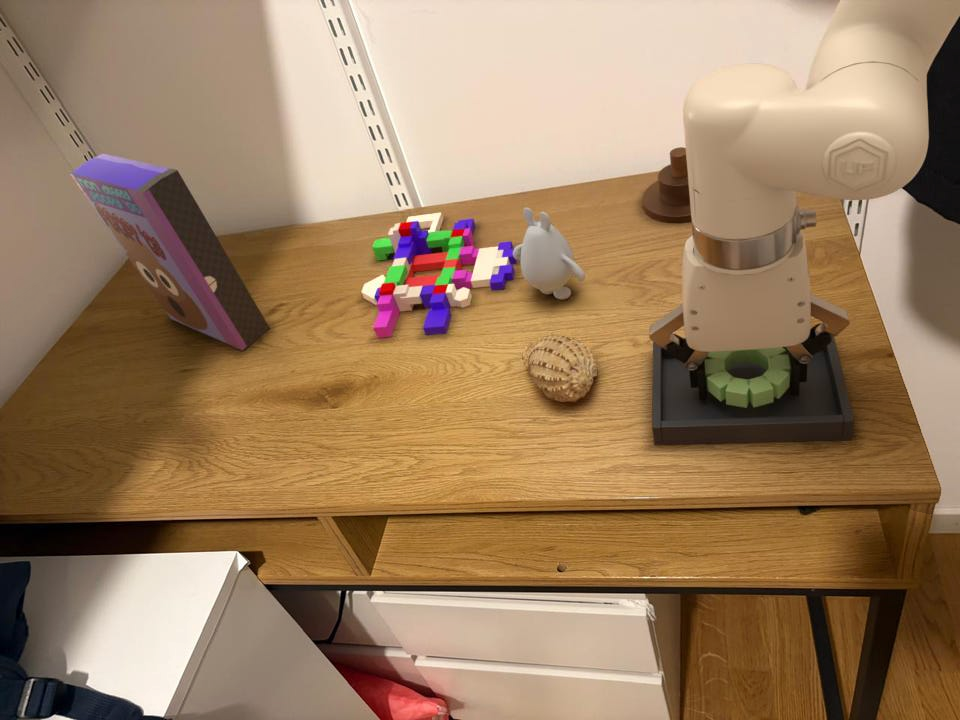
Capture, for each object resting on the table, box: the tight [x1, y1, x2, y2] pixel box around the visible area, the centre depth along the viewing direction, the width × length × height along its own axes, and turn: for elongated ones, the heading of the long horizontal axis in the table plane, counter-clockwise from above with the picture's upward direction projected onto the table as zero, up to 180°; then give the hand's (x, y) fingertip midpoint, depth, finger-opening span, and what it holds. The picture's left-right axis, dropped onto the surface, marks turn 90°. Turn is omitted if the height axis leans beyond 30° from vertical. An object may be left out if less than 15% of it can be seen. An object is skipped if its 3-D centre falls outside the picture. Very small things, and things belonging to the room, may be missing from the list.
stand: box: [642, 146, 692, 224], centre depth 93 cm, size 10×10×7 cm
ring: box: [705, 347, 790, 408], centre depth 68 cm, size 7×8×2 cm
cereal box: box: [69, 153, 271, 352], centre depth 94 cm, size 17×5×24 cm, turn 53°
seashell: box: [521, 334, 598, 403], centre depth 77 cm, size 8×6×10 cm
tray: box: [651, 336, 855, 446], centre depth 69 cm, size 17×12×2 cm
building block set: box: [360, 212, 518, 339], centre depth 96 cm, size 25×20×4 cm
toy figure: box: [513, 206, 586, 300], centre depth 84 cm, size 11×6×12 cm, turn 47°
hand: (746, 386), depth 69 cm, fingers closed on ring, 7 cm apart
